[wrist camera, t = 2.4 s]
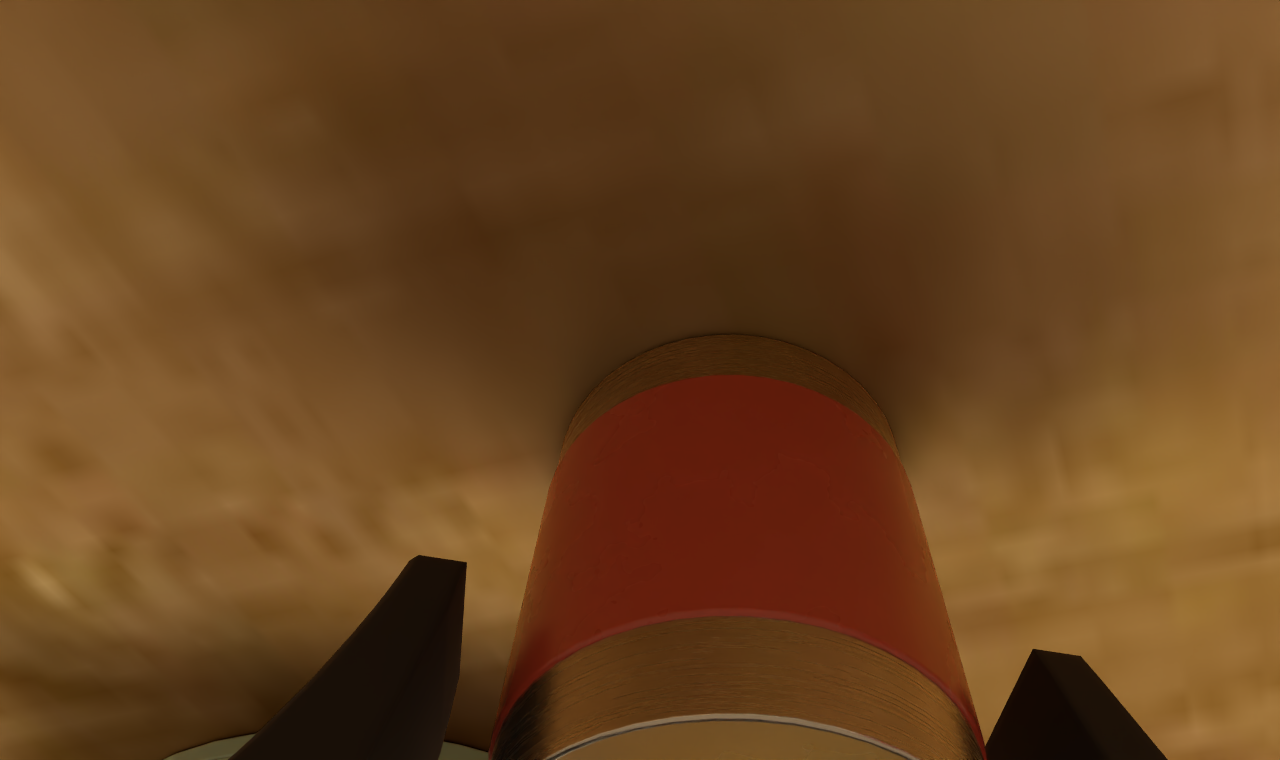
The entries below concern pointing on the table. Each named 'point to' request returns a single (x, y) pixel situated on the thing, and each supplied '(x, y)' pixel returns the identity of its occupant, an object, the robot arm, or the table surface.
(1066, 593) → the table surface
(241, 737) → the pot
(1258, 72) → the table surface
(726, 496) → the tin
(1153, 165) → the table surface
